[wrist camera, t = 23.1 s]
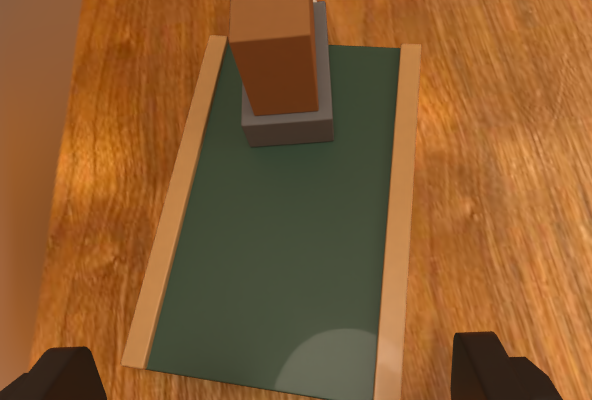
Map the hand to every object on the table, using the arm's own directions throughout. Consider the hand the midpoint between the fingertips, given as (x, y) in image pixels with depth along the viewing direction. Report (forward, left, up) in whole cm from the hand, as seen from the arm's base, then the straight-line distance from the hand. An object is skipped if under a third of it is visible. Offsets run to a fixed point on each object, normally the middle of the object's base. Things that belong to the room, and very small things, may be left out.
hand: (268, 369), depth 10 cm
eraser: (-3, +16, -12) cm, 20 cm away
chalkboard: (-2, +9, -13) cm, 16 cm away
